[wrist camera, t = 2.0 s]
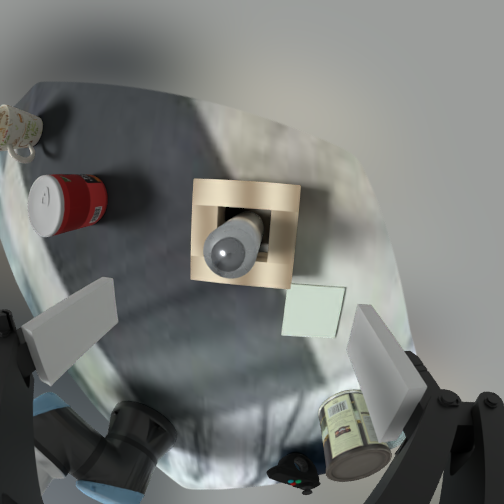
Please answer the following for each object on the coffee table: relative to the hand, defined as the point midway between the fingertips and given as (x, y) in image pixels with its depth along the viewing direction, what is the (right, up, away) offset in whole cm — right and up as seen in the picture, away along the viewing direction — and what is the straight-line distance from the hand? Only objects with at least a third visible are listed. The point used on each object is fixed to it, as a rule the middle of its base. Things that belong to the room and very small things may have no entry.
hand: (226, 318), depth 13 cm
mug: (-39, +25, +22) cm, 51 cm away
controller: (+10, -40, +32) cm, 53 cm away
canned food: (-24, +12, +23) cm, 35 cm away
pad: (+10, -5, +24) cm, 27 cm away
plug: (+1, +6, +22) cm, 23 cm away
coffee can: (+18, -25, +28) cm, 42 cm away
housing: (+1, +6, +22) cm, 23 cm away
